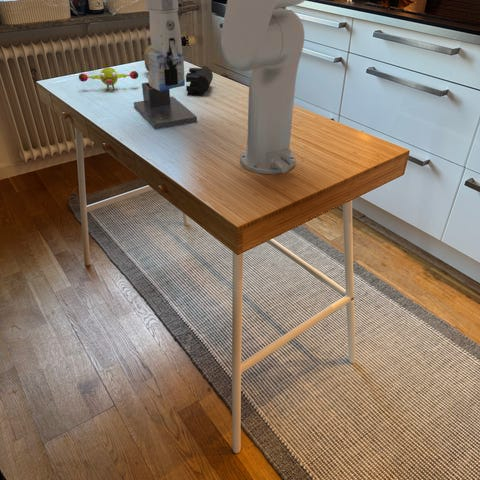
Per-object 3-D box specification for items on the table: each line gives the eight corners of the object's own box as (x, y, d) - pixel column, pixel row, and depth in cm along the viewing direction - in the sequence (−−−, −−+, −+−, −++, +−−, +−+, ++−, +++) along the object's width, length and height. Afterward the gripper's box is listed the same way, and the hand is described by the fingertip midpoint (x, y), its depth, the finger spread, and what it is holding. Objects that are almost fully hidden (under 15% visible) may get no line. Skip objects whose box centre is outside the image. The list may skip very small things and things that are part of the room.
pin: (164, 94, 127) (162, 76, 124) (152, 96, 126) (150, 78, 123) (160, 91, 130) (158, 73, 127) (148, 92, 128) (146, 75, 125)
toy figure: (80, 94, 138) (76, 71, 134) (81, 88, 142) (77, 66, 138) (140, 91, 141) (137, 69, 137) (139, 85, 146) (137, 64, 142)
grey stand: (197, 122, 122) (196, 98, 118) (154, 129, 117) (152, 105, 113) (173, 101, 134) (171, 79, 131) (134, 107, 130) (131, 84, 126)
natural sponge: (174, 71, 159) (172, 41, 153) (168, 79, 152) (166, 48, 146) (149, 70, 159) (146, 40, 153) (142, 78, 152) (139, 47, 146)
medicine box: (159, 91, 114) (156, 55, 108) (150, 87, 116) (146, 51, 111) (185, 86, 118) (183, 51, 112) (176, 81, 120) (174, 47, 115)
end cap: (209, 97, 138) (208, 75, 134) (186, 96, 138) (185, 74, 134) (213, 87, 146) (212, 65, 142) (191, 86, 146) (190, 64, 142)
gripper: (190, 8, 101) (194, 89, 112) (164, -4, 113) (169, 70, 124) (159, 10, 98) (165, 93, 109) (135, -2, 110) (143, 74, 121)
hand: (167, 80), depth 116 cm, fingers closed on medicine box, 5 cm apart
